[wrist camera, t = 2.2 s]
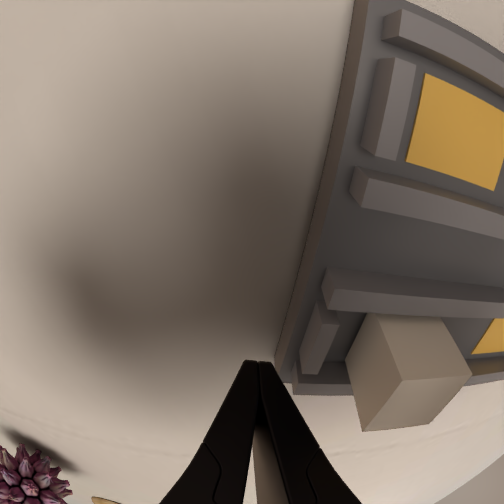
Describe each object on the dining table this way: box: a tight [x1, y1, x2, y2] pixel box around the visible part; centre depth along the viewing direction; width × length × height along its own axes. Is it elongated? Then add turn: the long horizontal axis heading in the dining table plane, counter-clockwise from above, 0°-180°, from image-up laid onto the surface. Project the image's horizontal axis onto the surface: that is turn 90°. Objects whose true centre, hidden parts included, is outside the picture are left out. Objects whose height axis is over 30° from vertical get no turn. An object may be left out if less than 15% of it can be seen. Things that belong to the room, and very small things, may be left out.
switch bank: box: [274, 0, 504, 395], centre depth 10 cm, size 16×15×3 cm
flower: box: [0, 443, 73, 504], centre depth 20 cm, size 12×12×12 cm
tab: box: [345, 313, 472, 432], centre depth 10 cm, size 3×3×4 cm
